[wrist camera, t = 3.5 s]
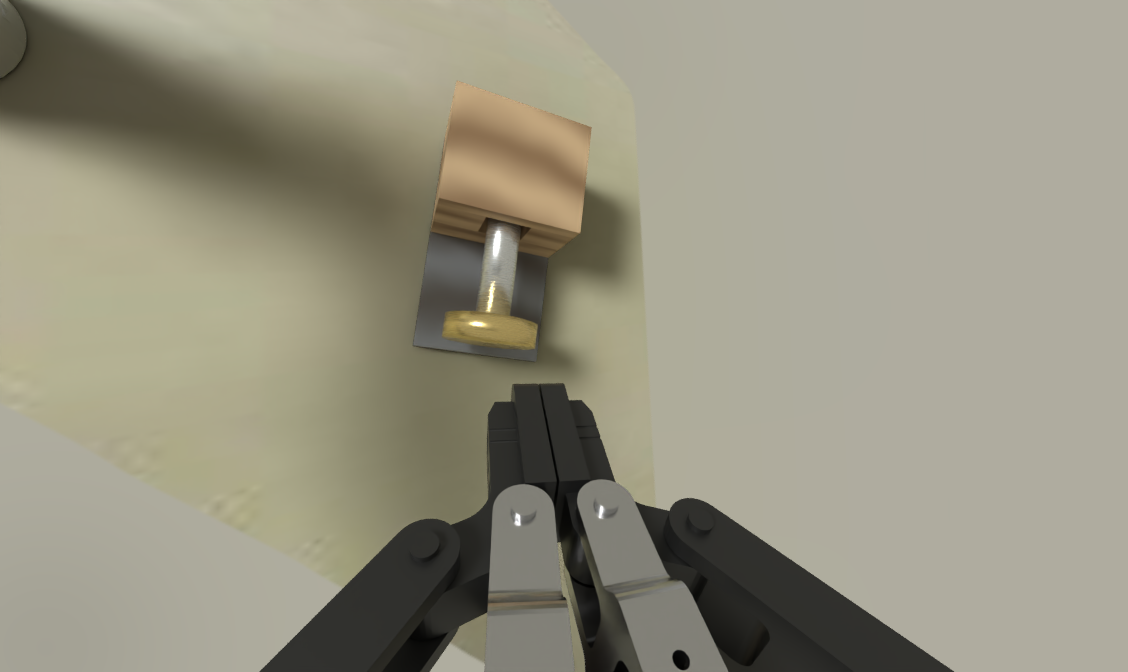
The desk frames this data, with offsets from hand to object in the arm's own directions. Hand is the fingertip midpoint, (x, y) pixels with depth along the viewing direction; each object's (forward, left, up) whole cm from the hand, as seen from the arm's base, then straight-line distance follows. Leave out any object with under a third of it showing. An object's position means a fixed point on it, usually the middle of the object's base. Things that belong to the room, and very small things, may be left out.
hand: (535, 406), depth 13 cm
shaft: (+10, +7, -29) cm, 31 cm away
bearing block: (+11, +9, -31) cm, 34 cm away
